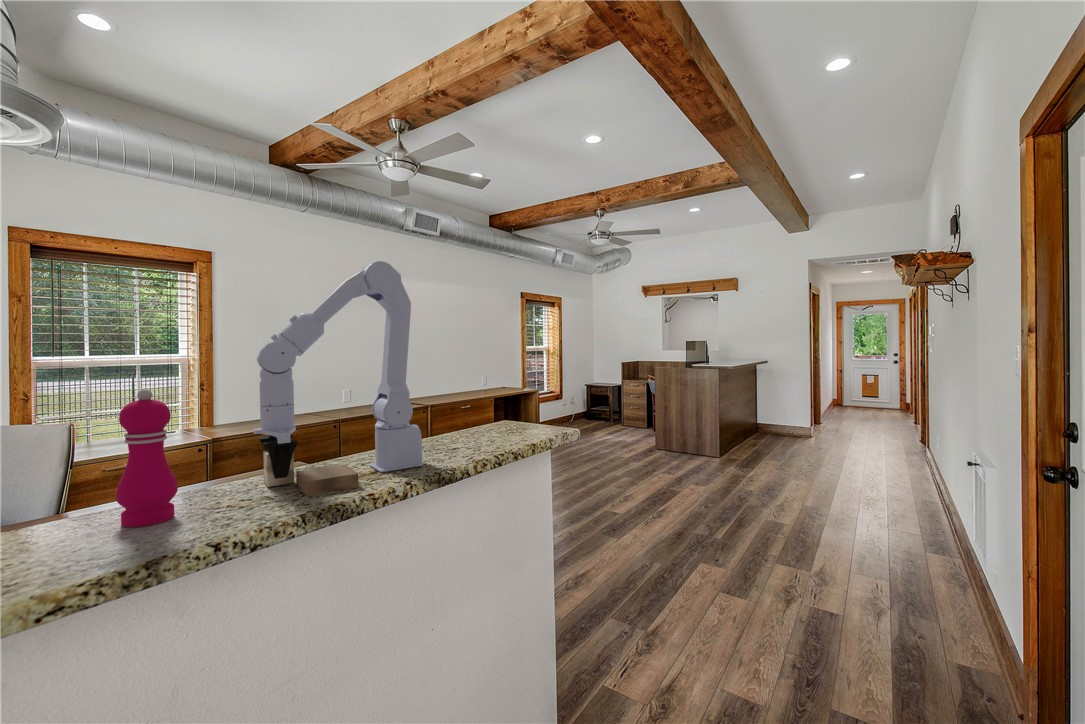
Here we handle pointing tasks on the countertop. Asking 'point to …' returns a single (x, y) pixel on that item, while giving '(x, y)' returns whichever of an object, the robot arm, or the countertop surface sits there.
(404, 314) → the robot arm
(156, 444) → the pepper mill
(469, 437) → the countertop surface
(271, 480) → the ash block
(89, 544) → the countertop surface
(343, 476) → the walnut block
